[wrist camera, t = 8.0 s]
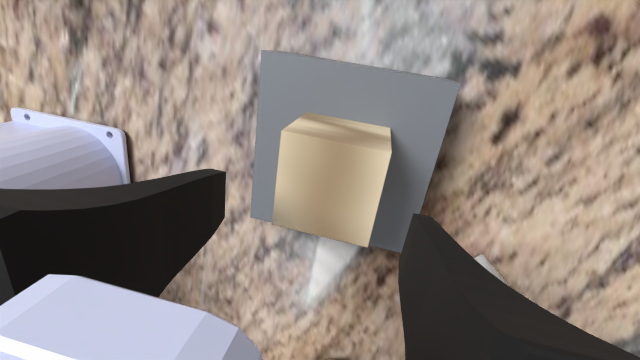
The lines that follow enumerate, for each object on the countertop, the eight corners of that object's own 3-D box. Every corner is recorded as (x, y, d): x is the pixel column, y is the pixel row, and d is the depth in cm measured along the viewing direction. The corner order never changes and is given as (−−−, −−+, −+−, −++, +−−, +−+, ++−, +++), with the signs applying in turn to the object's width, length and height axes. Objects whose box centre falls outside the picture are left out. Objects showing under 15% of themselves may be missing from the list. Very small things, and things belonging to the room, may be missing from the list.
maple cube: (296, 187, 19) (271, 224, 15) (306, 112, 17) (281, 130, 13) (371, 203, 18) (367, 247, 14) (390, 127, 16) (391, 152, 12)
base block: (266, 197, 23) (250, 217, 20) (279, 50, 19) (261, 50, 16) (404, 229, 22) (406, 254, 19) (449, 79, 18) (460, 83, 15)
